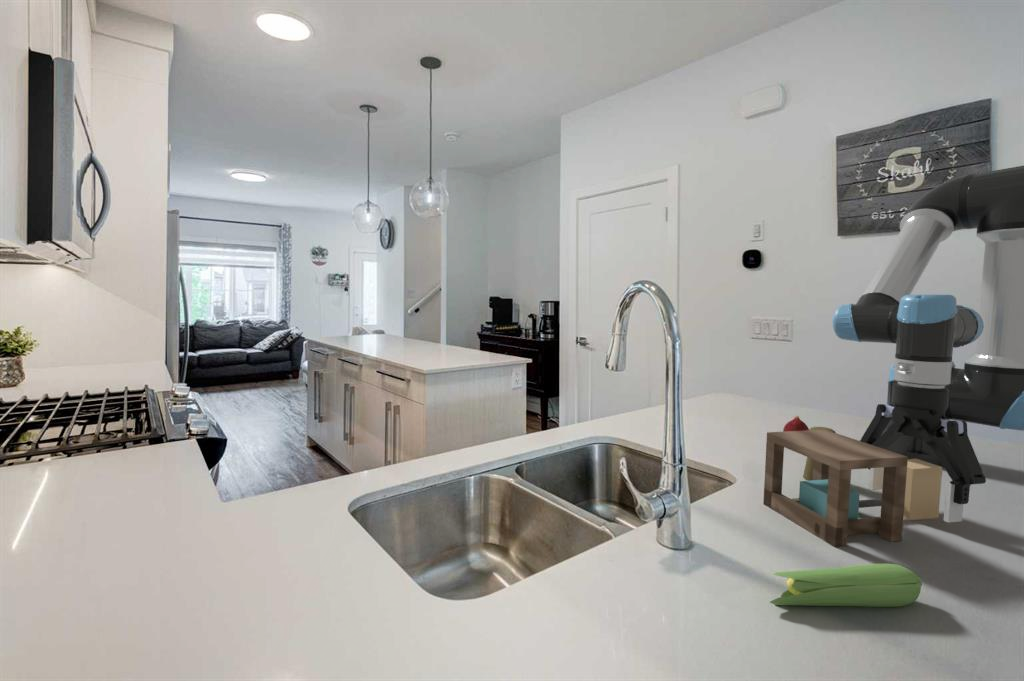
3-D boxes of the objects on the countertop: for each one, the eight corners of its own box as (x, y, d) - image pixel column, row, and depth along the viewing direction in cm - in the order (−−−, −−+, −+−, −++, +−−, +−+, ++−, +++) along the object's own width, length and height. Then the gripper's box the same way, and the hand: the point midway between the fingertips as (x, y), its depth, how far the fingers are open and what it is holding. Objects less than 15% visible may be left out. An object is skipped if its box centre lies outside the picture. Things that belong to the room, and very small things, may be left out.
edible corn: (941, 582, 58) (911, 552, 62) (775, 589, 58) (755, 558, 62) (928, 614, 60) (900, 583, 64) (767, 620, 60) (749, 589, 64)
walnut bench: (820, 499, 92) (824, 429, 91) (901, 540, 77) (907, 456, 75) (763, 503, 90) (766, 432, 89) (835, 547, 74) (840, 461, 73)
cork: (842, 485, 99) (845, 432, 98) (809, 483, 100) (812, 430, 99) (829, 475, 105) (832, 424, 104) (798, 473, 106) (801, 423, 105)
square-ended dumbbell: (908, 505, 90) (912, 457, 89) (942, 519, 84) (946, 468, 83) (798, 514, 86) (800, 464, 85) (825, 530, 80) (828, 476, 79)
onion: (813, 450, 122) (815, 418, 122) (790, 450, 122) (792, 418, 122) (800, 443, 128) (802, 413, 127) (778, 443, 128) (779, 413, 127)
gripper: (841, 373, 96) (834, 479, 98) (984, 399, 71) (972, 539, 73) (874, 372, 97) (867, 476, 99) (1025, 398, 73) (1012, 535, 75)
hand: (911, 503), depth 86 cm, fingers open, 13 cm apart
